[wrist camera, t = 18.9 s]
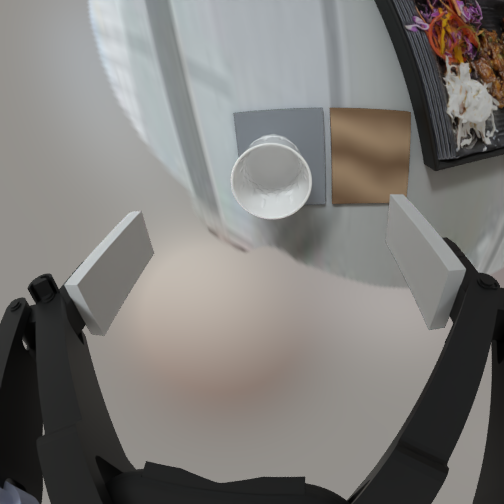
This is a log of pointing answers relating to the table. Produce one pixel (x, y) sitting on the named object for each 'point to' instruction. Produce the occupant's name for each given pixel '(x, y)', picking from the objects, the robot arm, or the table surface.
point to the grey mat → (296, 130)
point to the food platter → (452, 75)
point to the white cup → (271, 178)
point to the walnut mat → (369, 154)
